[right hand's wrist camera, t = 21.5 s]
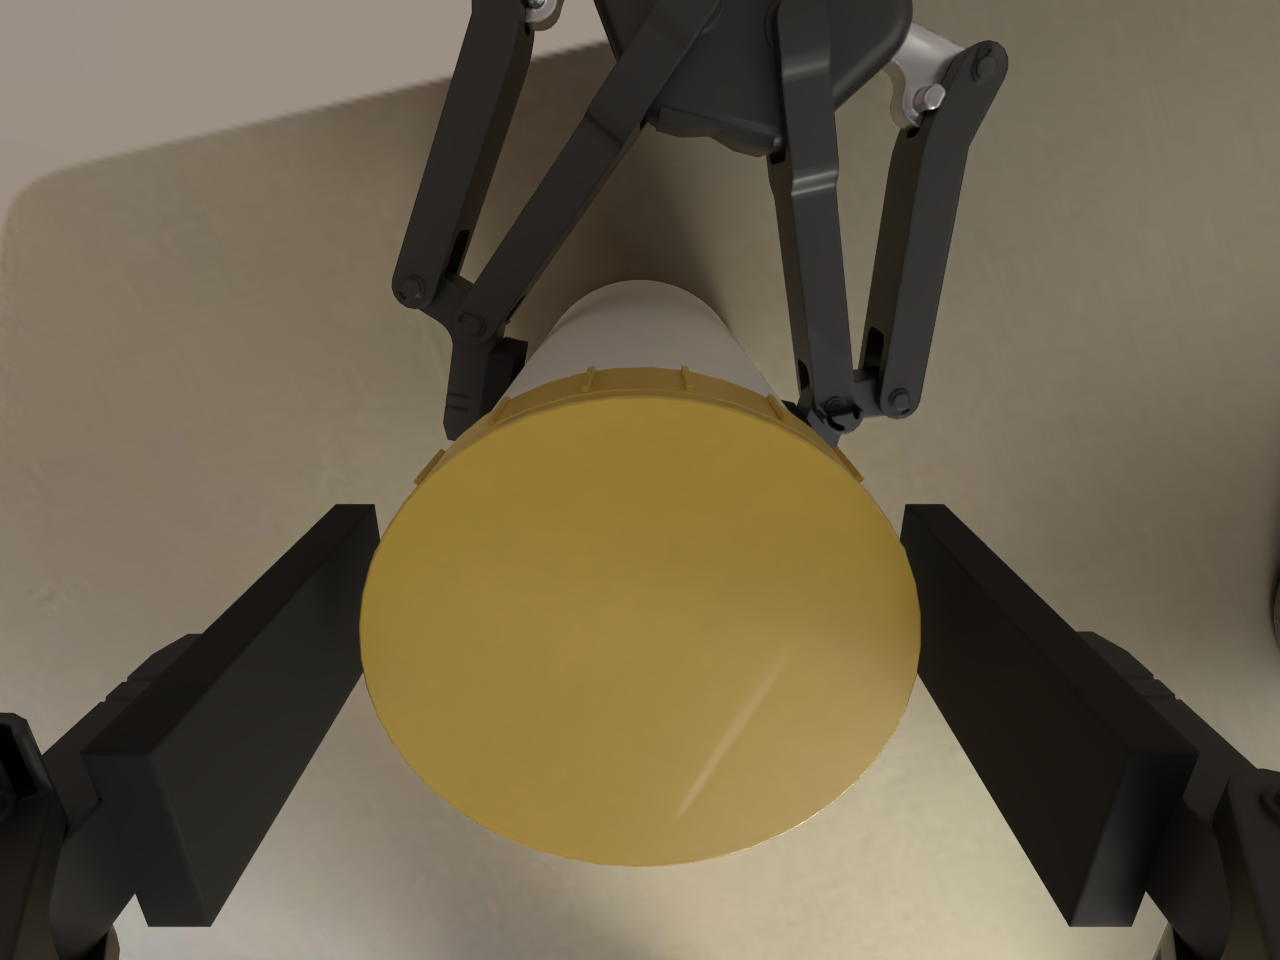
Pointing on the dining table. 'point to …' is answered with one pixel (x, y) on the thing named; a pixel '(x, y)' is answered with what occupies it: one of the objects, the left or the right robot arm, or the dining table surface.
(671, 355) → the jar
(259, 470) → the dining table surface
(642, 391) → the lid
